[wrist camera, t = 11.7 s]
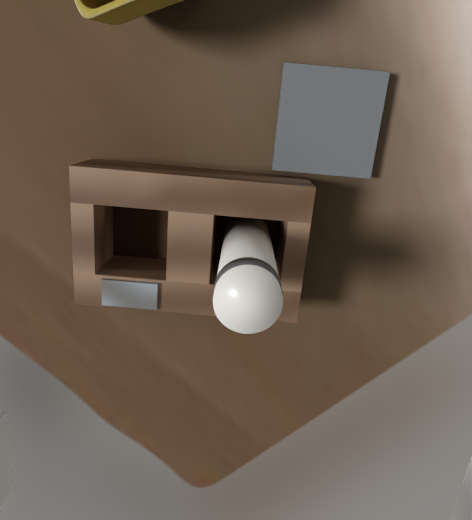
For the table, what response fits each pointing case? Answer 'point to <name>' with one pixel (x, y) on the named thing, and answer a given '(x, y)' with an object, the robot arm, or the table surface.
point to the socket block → (179, 232)
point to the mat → (329, 120)
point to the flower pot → (119, 9)
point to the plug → (247, 278)
